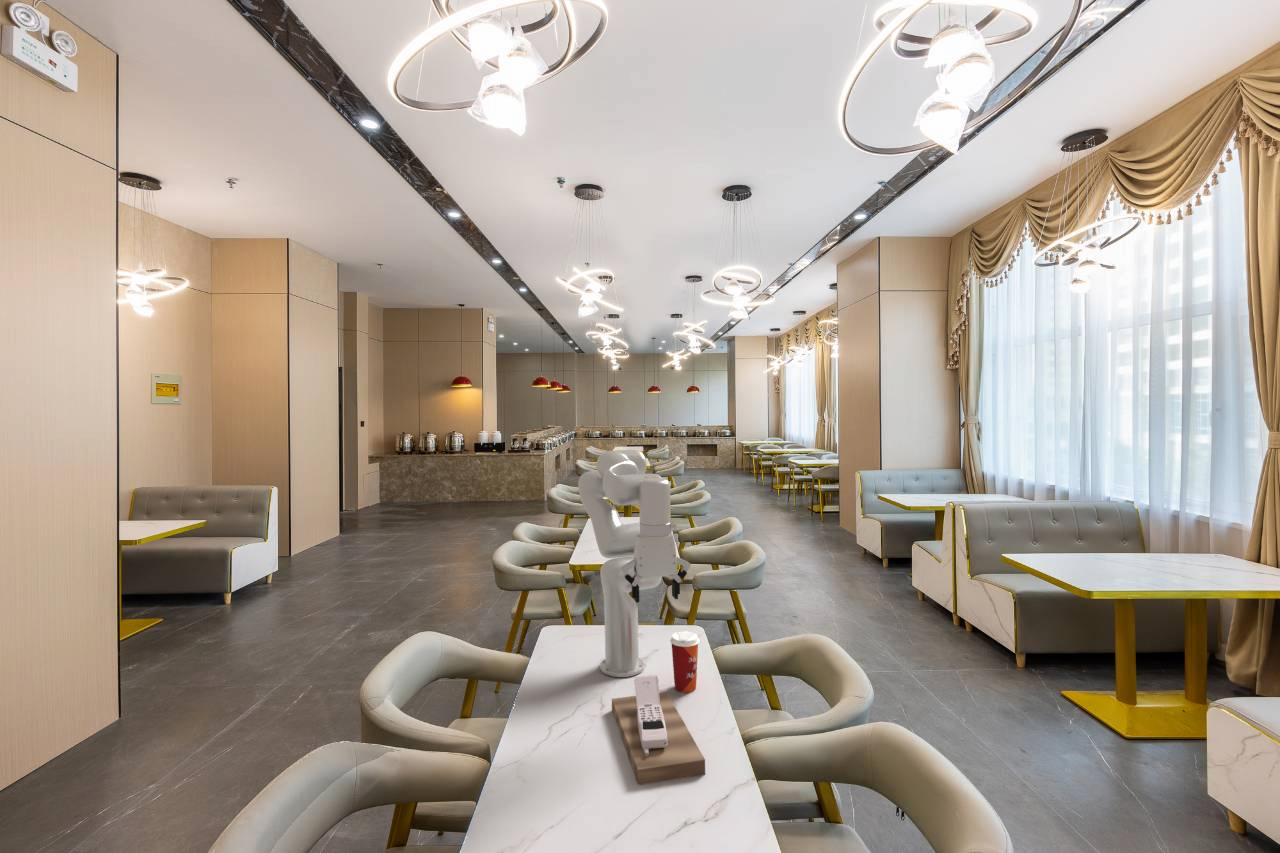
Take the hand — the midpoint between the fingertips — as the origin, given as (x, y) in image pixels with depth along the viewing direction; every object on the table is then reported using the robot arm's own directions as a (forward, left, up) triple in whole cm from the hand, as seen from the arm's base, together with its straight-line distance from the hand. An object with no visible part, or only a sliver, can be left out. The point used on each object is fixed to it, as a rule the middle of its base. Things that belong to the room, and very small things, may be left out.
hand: (655, 599), depth 149 cm
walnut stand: (+12, -4, -28) cm, 31 cm away
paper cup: (-10, +10, -28) cm, 32 cm away
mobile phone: (+11, -4, -25) cm, 28 cm away
